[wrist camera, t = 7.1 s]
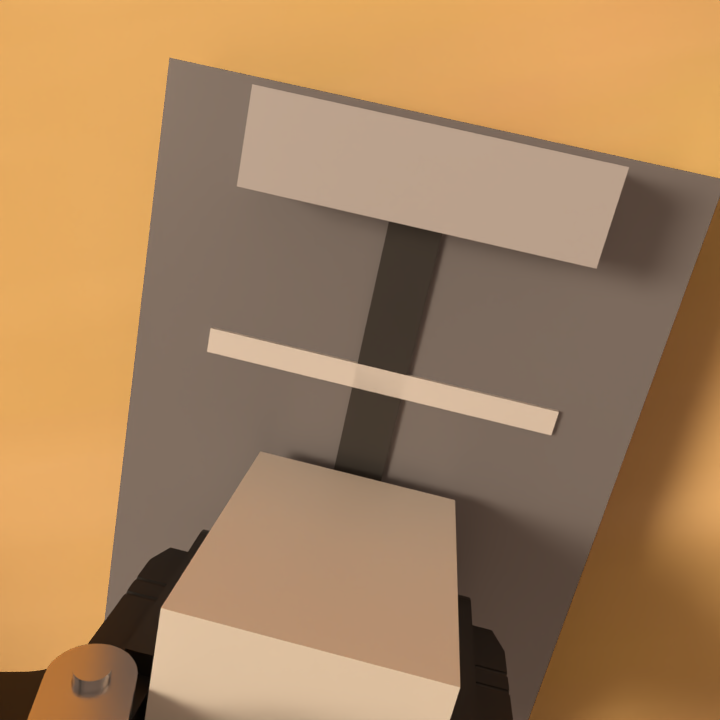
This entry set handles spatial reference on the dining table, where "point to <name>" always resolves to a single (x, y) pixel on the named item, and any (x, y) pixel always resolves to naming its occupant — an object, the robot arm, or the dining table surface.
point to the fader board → (400, 328)
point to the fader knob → (314, 604)
